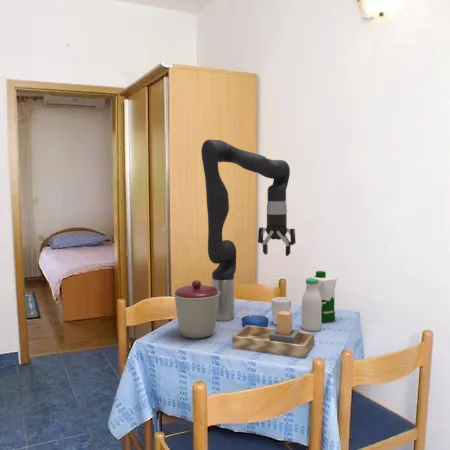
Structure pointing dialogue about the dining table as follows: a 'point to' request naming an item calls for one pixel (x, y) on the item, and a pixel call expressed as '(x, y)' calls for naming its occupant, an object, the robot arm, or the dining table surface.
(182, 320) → the canister
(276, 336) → the socket
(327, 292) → the milk carton
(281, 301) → the white cup
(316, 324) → the milk bottle
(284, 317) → the plug
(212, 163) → the robot arm
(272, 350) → the oak box
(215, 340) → the dining table surface
